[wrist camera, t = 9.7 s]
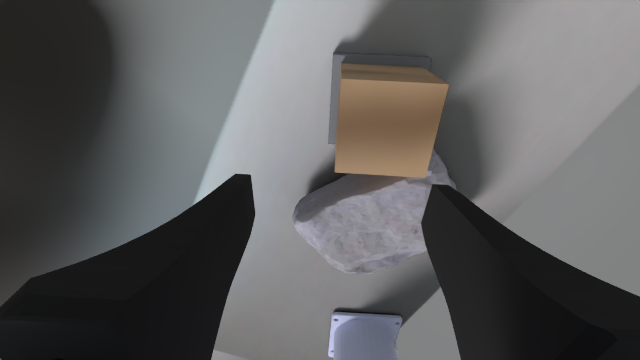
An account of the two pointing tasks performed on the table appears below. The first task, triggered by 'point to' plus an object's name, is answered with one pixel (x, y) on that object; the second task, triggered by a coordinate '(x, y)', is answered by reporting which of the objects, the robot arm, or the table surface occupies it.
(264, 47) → the table surface
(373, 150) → the tan cube
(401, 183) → the stone block
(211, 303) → the robot arm
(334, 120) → the charcoal pad
